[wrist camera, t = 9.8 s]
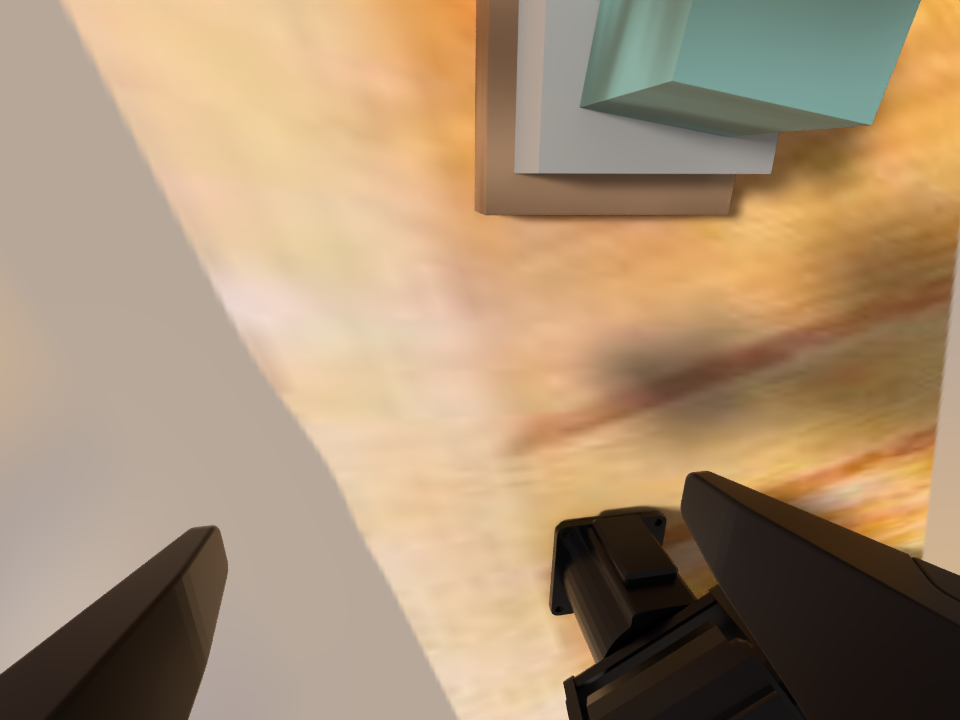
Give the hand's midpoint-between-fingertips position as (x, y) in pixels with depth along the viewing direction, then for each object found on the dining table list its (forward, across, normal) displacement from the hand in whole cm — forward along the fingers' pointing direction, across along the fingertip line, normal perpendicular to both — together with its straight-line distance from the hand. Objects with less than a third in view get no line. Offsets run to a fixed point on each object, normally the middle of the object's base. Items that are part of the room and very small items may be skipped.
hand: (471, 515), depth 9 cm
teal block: (+8, -7, -10) cm, 15 cm away
